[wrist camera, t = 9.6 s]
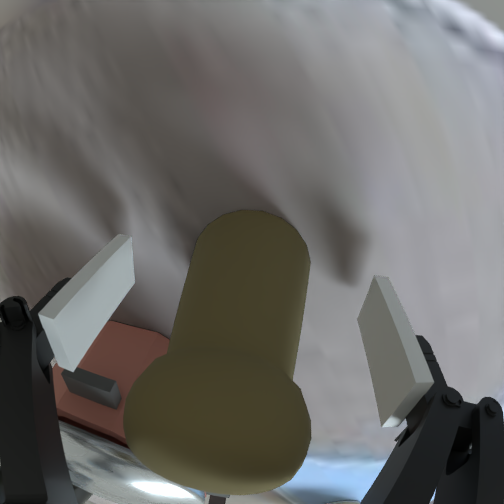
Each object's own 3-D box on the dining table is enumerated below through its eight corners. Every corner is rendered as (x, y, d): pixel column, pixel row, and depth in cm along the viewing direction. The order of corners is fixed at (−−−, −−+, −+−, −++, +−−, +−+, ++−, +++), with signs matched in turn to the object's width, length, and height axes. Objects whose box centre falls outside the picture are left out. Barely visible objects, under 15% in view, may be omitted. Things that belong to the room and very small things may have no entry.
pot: (98, 411, 26) (67, 478, 18) (53, 286, 18) (-23, 372, 10) (233, 447, 25) (220, 527, 17) (256, 332, 18) (235, 475, 10)
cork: (326, 292, 16) (351, 500, 6) (226, 324, 18) (180, 506, 8) (281, 189, 14) (269, 408, 4) (172, 237, 15) (49, 418, 6)
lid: (57, 470, 17) (50, 491, 15) (-17, 381, 11) (-35, 410, 9) (205, 513, 17) (202, 537, 15) (205, 460, 11) (198, 507, 9)
